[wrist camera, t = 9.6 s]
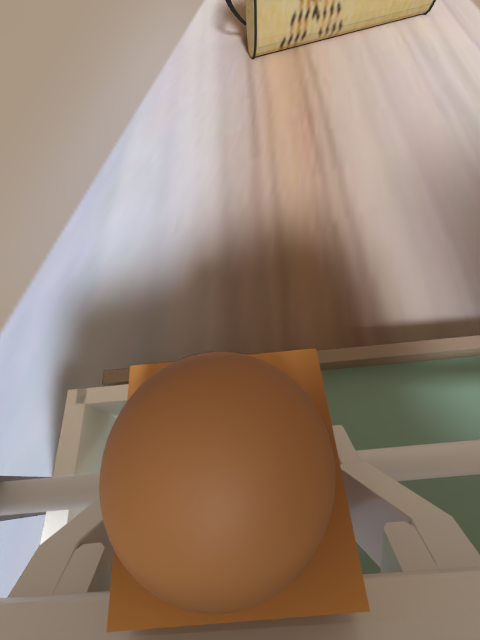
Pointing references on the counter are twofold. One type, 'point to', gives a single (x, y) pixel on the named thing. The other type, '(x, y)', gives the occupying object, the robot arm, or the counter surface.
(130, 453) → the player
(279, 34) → the clutch purse
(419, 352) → the pitch
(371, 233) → the counter surface
